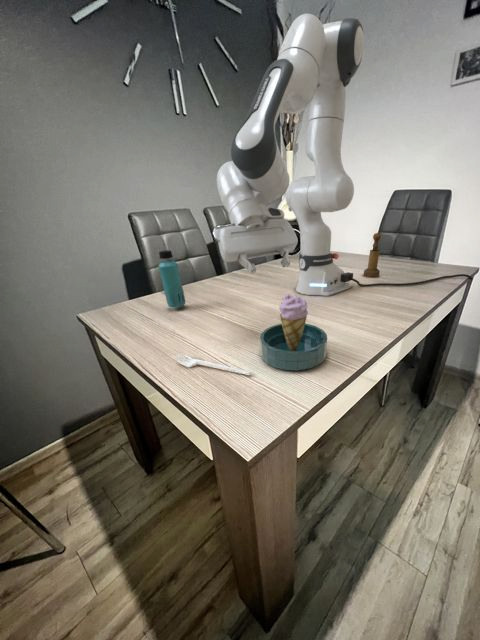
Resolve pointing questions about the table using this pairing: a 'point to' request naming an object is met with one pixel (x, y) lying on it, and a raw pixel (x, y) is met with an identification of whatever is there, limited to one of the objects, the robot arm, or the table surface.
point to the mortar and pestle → (373, 259)
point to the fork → (206, 364)
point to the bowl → (305, 356)
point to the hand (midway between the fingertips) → (270, 269)
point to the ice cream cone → (293, 319)
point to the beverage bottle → (171, 280)
